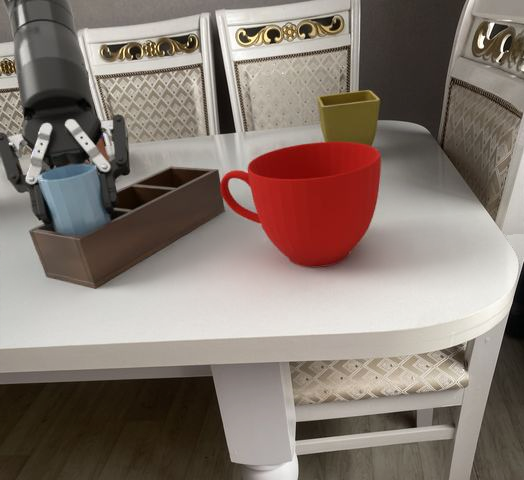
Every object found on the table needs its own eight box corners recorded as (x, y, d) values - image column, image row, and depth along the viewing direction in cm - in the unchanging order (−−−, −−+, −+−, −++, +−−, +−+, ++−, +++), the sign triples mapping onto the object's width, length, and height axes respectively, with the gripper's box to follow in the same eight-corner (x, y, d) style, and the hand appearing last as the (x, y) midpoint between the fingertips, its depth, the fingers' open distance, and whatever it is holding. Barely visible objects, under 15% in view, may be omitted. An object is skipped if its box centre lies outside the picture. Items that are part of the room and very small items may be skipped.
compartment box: (46, 276, 60) (28, 230, 57) (178, 205, 76) (170, 166, 73) (95, 288, 56) (79, 239, 53) (225, 210, 72) (218, 169, 69)
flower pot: (380, 160, 83) (380, 98, 78) (324, 167, 83) (321, 105, 78) (370, 147, 90) (370, 89, 85) (319, 153, 91) (316, 96, 86)
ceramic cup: (252, 227, 65) (241, 144, 60) (390, 232, 59) (392, 139, 54) (206, 274, 56) (188, 180, 50) (365, 285, 50) (364, 179, 44)
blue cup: (54, 258, 59) (25, 178, 54) (93, 238, 63) (70, 162, 58) (90, 266, 56) (63, 182, 51) (129, 244, 60) (107, 164, 55)
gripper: (-29, 64, 54) (-7, 211, 51) (111, 45, 56) (140, 186, 53) (1, 111, 62) (22, 242, 59) (123, 93, 63) (150, 219, 60)
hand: (78, 215), depth 56 cm, fingers closed on blue cup, 6 cm apart
